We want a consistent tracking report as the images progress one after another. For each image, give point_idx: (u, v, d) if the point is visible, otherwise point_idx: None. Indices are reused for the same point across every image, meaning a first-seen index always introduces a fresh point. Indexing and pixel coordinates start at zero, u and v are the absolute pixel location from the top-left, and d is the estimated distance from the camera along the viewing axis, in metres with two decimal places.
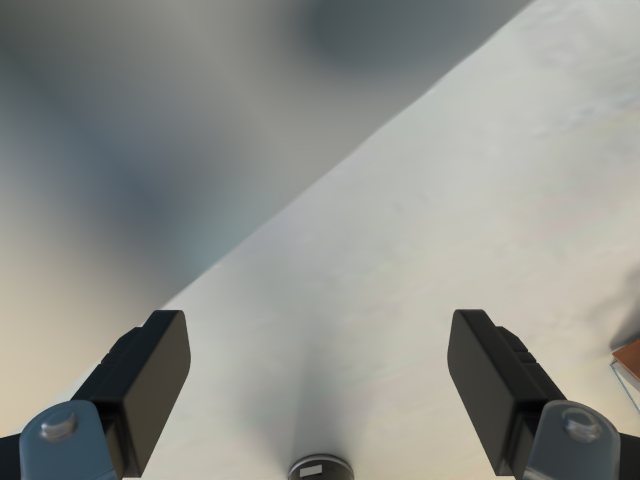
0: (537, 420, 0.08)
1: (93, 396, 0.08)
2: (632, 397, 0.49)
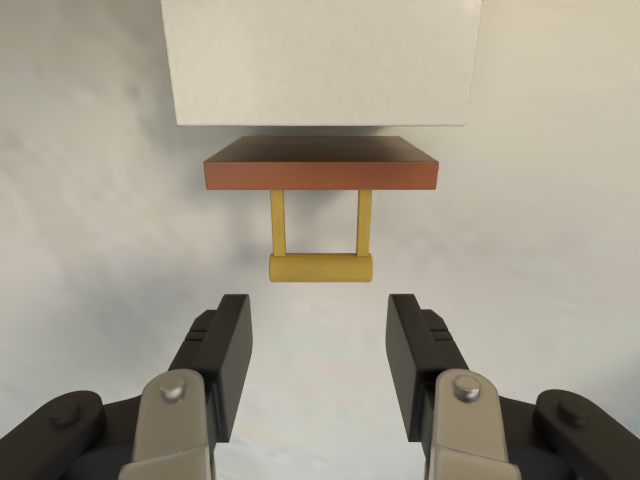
0: None
1: (193, 366, 0.09)
2: None
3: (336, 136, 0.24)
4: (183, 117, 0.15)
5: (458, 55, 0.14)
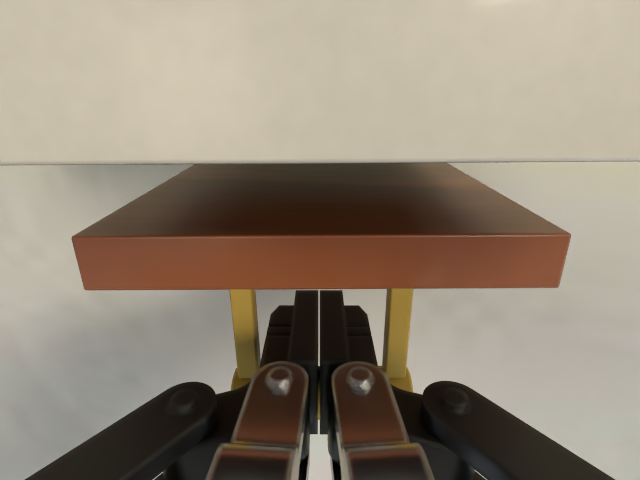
0: None
1: (290, 359, 0.09)
2: None
3: None
4: None
5: None
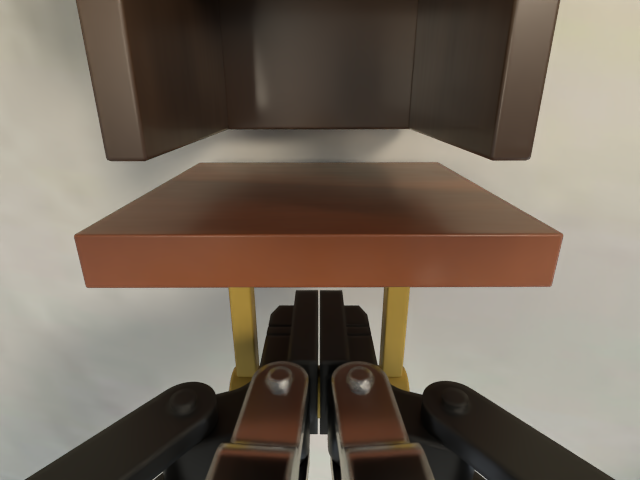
0: None
1: (290, 359, 0.09)
2: None
3: (342, 163, 0.16)
4: None
5: None
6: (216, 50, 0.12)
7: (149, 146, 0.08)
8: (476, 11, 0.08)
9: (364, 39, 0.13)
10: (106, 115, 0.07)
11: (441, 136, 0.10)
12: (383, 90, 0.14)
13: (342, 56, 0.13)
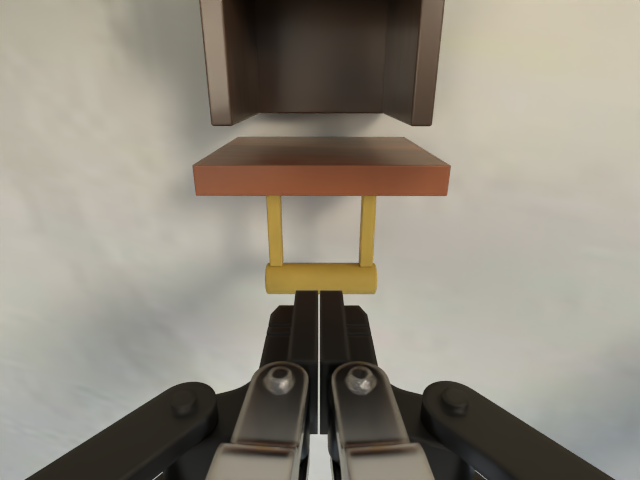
0: None
1: (289, 359, 0.09)
2: None
3: (337, 137, 0.23)
4: None
5: None
6: (255, 61, 0.19)
7: (232, 118, 0.15)
8: (407, 45, 0.15)
9: (351, 53, 0.20)
10: (213, 101, 0.14)
11: (395, 115, 0.17)
12: (364, 86, 0.21)
13: (337, 64, 0.20)
